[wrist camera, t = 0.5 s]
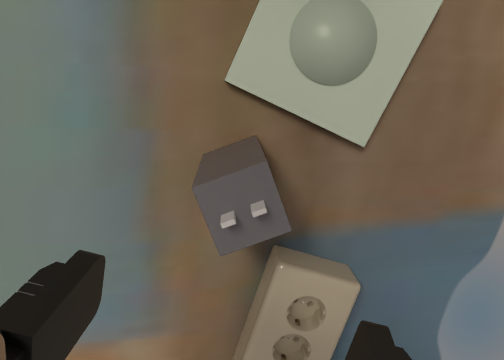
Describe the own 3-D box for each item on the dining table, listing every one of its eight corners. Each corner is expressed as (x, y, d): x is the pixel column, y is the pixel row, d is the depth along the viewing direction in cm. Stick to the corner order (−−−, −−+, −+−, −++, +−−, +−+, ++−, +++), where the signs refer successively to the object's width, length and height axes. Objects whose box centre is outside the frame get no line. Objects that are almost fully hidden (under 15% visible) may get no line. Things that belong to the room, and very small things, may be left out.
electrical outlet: (212, 445, 35) (278, 263, 31) (213, 407, 39) (273, 242, 35) (289, 461, 36) (363, 287, 32) (283, 423, 40) (349, 263, 36)
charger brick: (203, 154, 32) (189, 195, 21) (255, 135, 32) (269, 166, 21) (223, 204, 34) (219, 267, 23) (274, 185, 33) (295, 240, 22)
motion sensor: (294, -79, 29) (297, -86, 27) (436, 1, 30) (445, -3, 29) (224, 80, 31) (224, 80, 30) (359, 144, 33) (365, 147, 31)
